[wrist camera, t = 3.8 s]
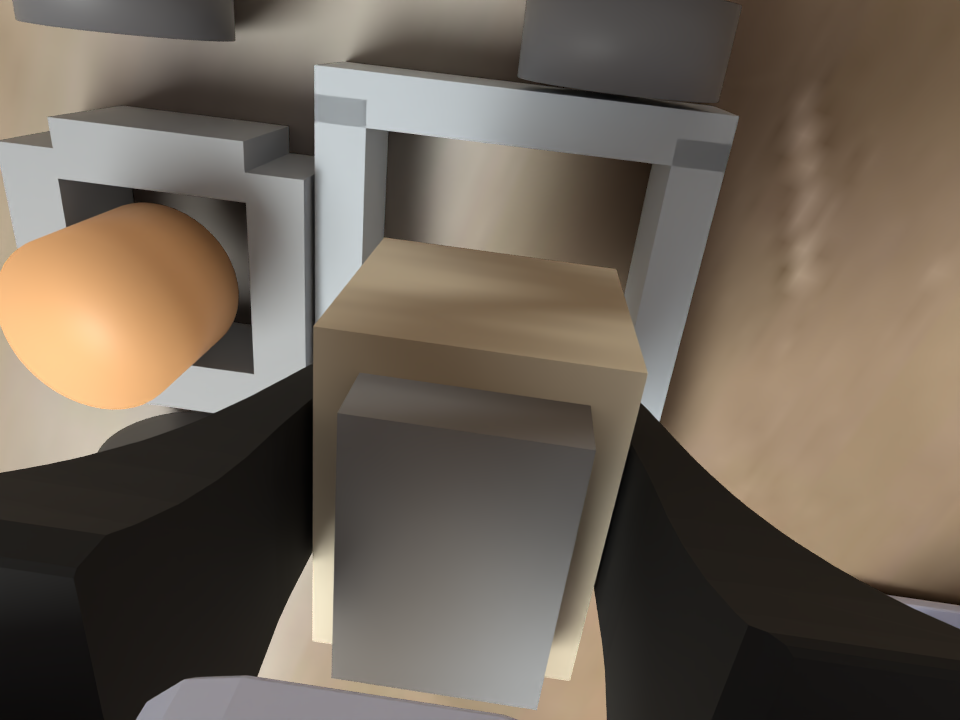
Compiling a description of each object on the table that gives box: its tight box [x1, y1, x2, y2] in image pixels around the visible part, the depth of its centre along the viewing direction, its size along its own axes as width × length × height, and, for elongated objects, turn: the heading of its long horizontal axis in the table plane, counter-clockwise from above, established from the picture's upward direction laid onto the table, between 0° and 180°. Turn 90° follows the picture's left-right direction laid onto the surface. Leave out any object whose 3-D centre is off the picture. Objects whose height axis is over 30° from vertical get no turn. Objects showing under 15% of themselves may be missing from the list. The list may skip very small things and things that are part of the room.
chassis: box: [0, 0, 742, 453], centre depth 17 cm, size 17×15×4 cm
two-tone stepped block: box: [312, 237, 648, 710], centre depth 12 cm, size 4×6×6 cm
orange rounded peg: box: [0, 202, 239, 409], centre depth 16 cm, size 4×4×4 cm
